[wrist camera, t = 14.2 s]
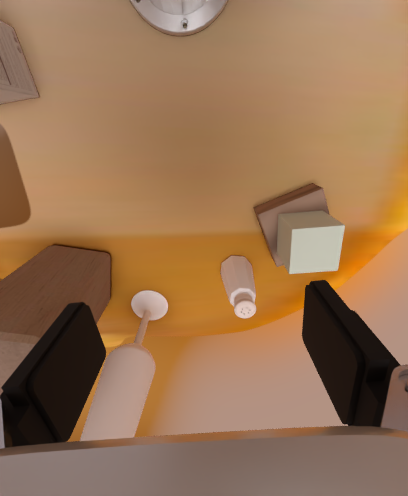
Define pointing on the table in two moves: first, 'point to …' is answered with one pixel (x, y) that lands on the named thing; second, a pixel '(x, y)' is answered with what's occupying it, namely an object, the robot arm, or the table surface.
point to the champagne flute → (125, 379)
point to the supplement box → (14, 69)
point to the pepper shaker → (239, 285)
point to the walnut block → (288, 203)
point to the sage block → (309, 241)
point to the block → (47, 297)
